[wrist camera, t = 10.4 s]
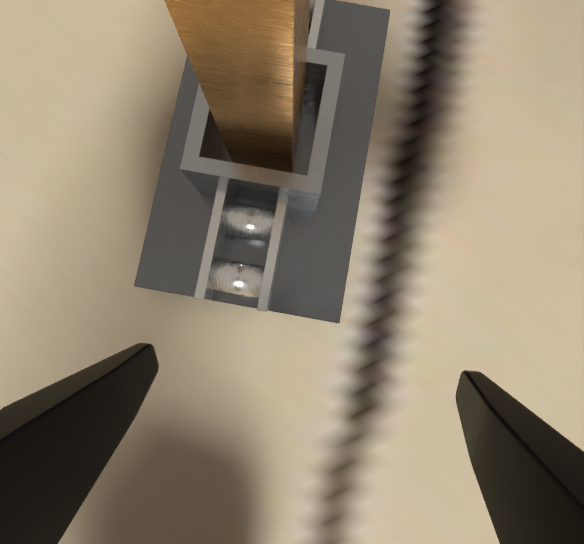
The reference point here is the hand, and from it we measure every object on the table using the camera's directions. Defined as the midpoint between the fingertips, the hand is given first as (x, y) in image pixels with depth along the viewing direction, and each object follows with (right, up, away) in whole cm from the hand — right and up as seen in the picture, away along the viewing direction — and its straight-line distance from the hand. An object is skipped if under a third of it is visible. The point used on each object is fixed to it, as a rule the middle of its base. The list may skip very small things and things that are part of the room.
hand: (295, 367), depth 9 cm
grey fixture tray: (-2, +11, +11) cm, 15 cm away
